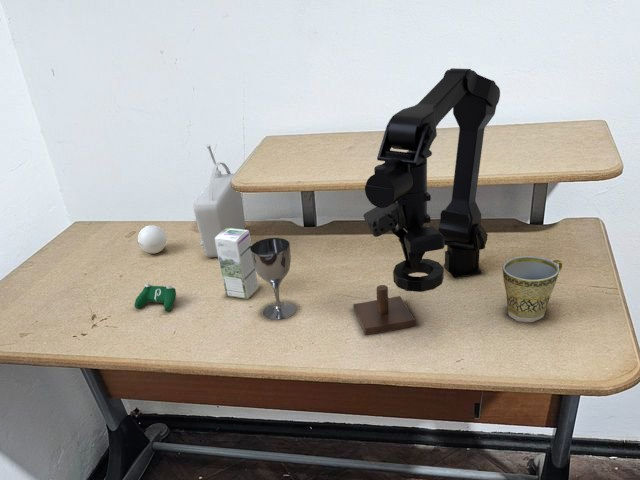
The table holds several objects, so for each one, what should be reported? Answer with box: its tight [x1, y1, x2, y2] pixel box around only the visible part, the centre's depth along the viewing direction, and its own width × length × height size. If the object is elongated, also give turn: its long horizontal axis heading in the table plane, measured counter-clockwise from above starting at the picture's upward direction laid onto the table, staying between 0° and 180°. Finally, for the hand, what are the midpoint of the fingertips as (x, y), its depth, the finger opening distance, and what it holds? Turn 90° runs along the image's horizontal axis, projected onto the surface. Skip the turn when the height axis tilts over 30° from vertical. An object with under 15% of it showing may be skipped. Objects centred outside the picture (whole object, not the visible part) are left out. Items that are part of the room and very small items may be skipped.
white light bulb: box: [127, 224, 168, 254], centre depth 164 cm, size 10×7×7 cm
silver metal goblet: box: [250, 237, 297, 321], centre depth 129 cm, size 8×8×15 cm
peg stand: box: [352, 284, 416, 336], centre depth 125 cm, size 10×10×7 cm
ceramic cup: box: [502, 255, 563, 323], centre depth 120 cm, size 13×10×10 cm
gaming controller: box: [134, 283, 177, 312], centre depth 141 cm, size 9×4×6 cm
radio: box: [193, 143, 246, 258], centre depth 159 cm, size 22×8×25 cm, turn 172°
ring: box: [392, 258, 445, 293], centre depth 117 cm, size 9×9×2 cm
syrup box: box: [215, 228, 260, 300], centre depth 138 cm, size 6×6×14 cm
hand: (411, 266), depth 120 cm, fingers closed on ring, 2 cm apart
